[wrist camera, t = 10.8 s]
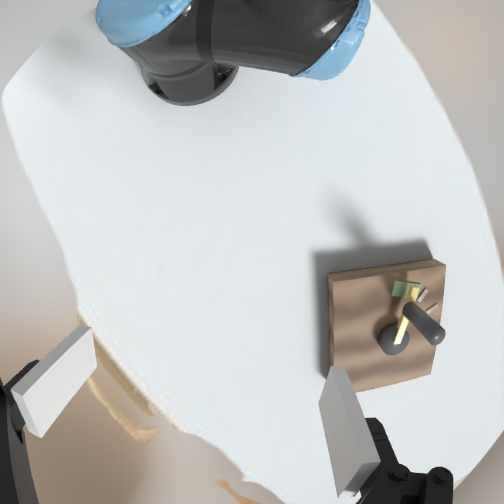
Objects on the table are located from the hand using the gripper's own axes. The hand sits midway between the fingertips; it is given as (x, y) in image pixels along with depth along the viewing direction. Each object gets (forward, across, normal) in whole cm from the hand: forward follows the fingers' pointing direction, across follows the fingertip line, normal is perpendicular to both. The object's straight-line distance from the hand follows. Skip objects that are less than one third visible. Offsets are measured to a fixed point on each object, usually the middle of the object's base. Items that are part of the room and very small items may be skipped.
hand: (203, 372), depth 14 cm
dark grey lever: (+27, +26, -8) cm, 39 cm away
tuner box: (+31, +26, -11) cm, 42 cm away
